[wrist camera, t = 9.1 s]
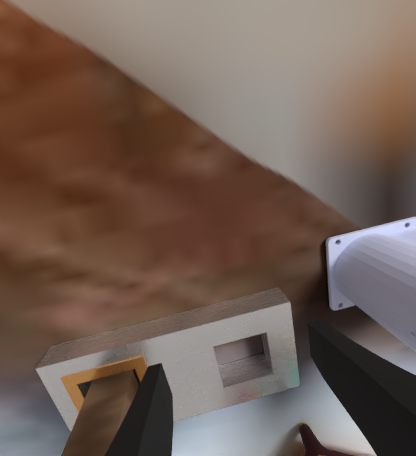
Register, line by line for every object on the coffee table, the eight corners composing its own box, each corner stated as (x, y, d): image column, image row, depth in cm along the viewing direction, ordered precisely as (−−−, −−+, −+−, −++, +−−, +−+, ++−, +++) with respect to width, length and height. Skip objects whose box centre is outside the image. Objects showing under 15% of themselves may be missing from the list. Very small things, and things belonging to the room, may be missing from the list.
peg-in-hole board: (278, 287, 22) (290, 302, 20) (288, 364, 25) (300, 386, 22) (52, 345, 21) (34, 369, 18) (90, 420, 24) (79, 450, 21)
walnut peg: (135, 353, 22) (112, 452, 15) (146, 380, 23) (129, 486, 16) (99, 363, 22) (56, 468, 14) (111, 390, 23) (77, 501, 15)
